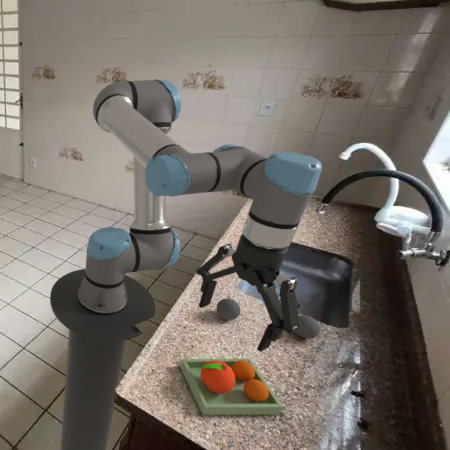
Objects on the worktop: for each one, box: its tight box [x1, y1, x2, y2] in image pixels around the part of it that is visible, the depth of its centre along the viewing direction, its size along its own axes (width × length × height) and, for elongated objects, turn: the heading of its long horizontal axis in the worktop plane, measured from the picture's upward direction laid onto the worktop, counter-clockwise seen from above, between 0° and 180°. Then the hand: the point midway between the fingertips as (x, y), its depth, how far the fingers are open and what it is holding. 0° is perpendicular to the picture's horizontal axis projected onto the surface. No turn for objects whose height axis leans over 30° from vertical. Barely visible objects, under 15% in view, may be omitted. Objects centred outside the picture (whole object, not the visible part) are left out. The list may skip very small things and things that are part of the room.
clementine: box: [198, 361, 235, 394], centre depth 79 cm, size 8×7×7 cm
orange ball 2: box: [244, 379, 269, 402], centre depth 77 cm, size 5×5×5 cm
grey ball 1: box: [215, 298, 242, 321], centre depth 100 cm, size 6×6×6 cm
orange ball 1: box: [232, 360, 255, 381], centre depth 82 cm, size 5×5×5 cm
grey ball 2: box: [293, 315, 321, 340], centre depth 93 cm, size 6×6×6 cm
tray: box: [179, 358, 284, 416], centre depth 80 cm, size 17×13×3 cm
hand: (231, 325), depth 74 cm, fingers open, 13 cm apart
